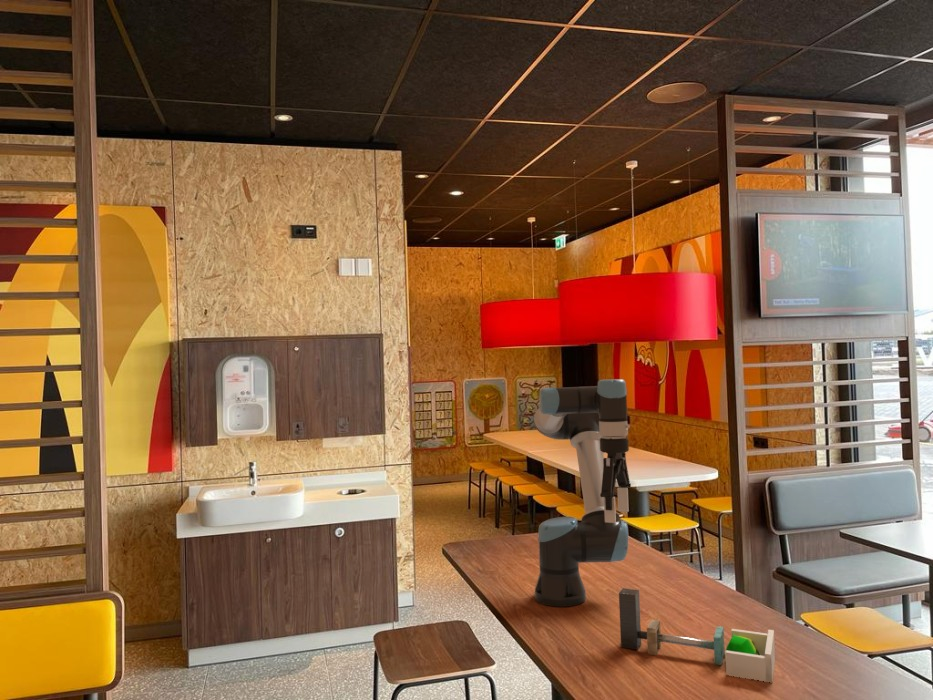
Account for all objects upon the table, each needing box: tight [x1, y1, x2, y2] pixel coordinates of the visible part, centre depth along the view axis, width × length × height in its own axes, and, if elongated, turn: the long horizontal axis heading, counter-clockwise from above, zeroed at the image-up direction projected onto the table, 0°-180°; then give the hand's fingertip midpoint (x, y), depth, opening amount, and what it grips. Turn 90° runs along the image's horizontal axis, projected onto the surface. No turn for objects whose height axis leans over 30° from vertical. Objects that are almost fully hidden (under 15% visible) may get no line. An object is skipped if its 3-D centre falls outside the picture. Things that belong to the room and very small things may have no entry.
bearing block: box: [646, 619, 662, 656], centre depth 160 cm, size 2×6×6 cm, turn 153°
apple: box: [725, 635, 760, 655], centre depth 153 cm, size 7×6×9 cm
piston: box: [618, 588, 726, 666], centre depth 158 cm, size 23×7×13 cm, turn 63°
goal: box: [724, 628, 776, 684], centre depth 150 cm, size 9×14×6 cm, turn 153°
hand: (617, 516), depth 177 cm, fingers open, 13 cm apart
